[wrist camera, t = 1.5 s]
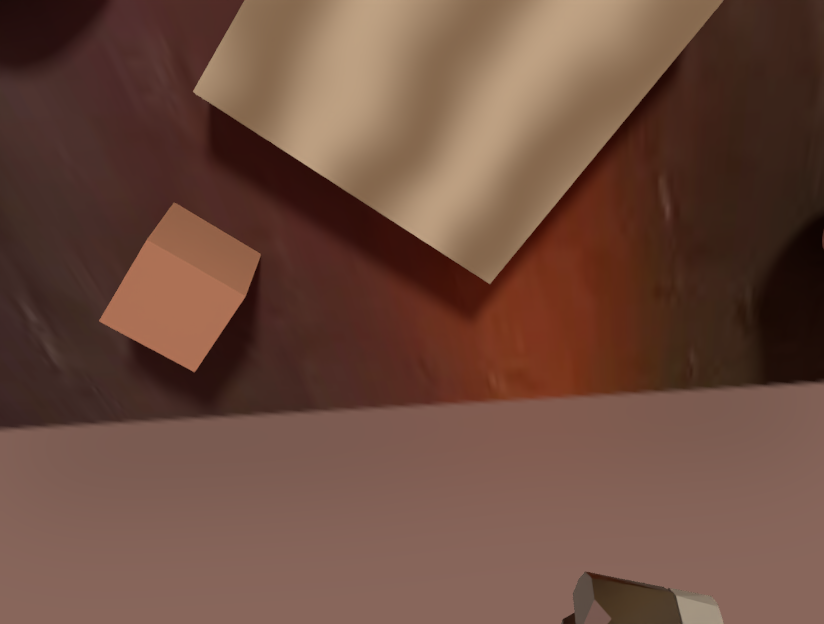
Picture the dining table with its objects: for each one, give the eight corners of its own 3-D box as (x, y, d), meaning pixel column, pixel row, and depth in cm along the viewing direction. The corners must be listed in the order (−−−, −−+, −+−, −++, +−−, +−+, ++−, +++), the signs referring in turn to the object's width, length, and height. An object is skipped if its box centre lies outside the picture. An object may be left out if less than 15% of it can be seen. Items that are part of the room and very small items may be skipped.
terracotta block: (130, 276, 41) (99, 321, 37) (174, 201, 39) (147, 239, 35) (215, 323, 42) (194, 372, 38) (261, 253, 41) (245, 296, 36)
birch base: (211, 73, 37) (192, 91, 33) (406, -268, 31) (409, -291, 27) (481, 251, 41) (489, 284, 38) (695, -17, 35) (729, -8, 32)
